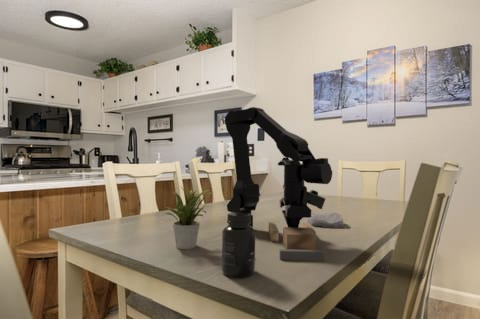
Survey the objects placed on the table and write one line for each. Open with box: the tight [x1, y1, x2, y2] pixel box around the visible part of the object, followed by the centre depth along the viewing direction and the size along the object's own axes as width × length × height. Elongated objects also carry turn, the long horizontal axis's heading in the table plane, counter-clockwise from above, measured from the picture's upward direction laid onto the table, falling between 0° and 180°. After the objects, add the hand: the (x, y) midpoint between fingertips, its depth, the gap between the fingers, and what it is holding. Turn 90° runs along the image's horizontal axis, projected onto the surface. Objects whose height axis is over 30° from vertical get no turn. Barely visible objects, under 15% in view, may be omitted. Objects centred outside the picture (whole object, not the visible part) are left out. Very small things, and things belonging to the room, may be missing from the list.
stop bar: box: [279, 248, 325, 261], centre depth 71 cm, size 10×2×2 cm, turn 89°
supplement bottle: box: [221, 212, 256, 279], centre depth 62 cm, size 7×7×12 cm
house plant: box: [160, 186, 212, 250], centre depth 80 cm, size 14×14×16 cm
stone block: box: [307, 212, 345, 229], centre depth 109 cm, size 12×5×10 cm
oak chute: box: [267, 221, 317, 243], centre depth 92 cm, size 12×12×3 cm
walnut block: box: [282, 226, 316, 250], centre depth 79 cm, size 7×8×5 cm
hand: (293, 237), depth 85 cm, fingers closed
